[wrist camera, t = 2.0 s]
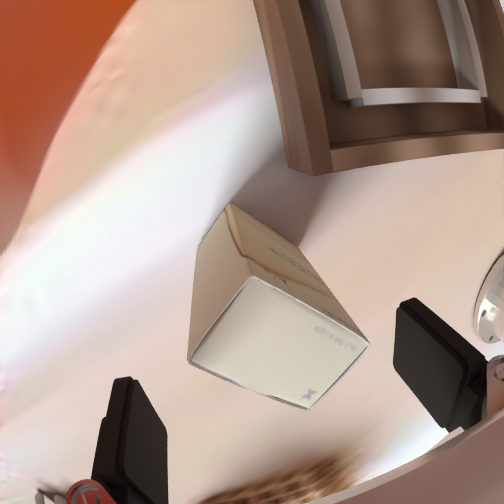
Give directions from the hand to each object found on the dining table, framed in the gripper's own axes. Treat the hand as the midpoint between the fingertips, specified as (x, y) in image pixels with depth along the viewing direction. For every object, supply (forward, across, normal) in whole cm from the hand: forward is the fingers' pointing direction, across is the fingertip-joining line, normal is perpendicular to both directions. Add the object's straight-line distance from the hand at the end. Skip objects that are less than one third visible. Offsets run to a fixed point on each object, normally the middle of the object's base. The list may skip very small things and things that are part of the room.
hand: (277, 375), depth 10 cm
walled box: (+13, -15, -15) cm, 25 cm away
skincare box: (+13, -1, 0) cm, 13 cm away
